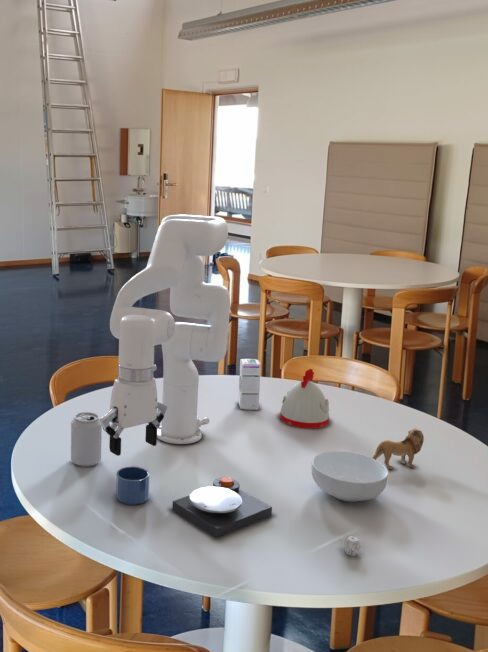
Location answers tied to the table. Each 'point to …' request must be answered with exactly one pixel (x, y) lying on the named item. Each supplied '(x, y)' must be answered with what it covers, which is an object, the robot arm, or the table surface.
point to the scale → (228, 521)
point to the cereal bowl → (349, 475)
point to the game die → (352, 545)
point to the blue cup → (132, 485)
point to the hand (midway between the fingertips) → (133, 448)
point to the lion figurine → (401, 448)
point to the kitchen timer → (305, 405)
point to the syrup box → (249, 384)
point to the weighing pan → (215, 499)
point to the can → (86, 439)
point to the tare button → (226, 481)
